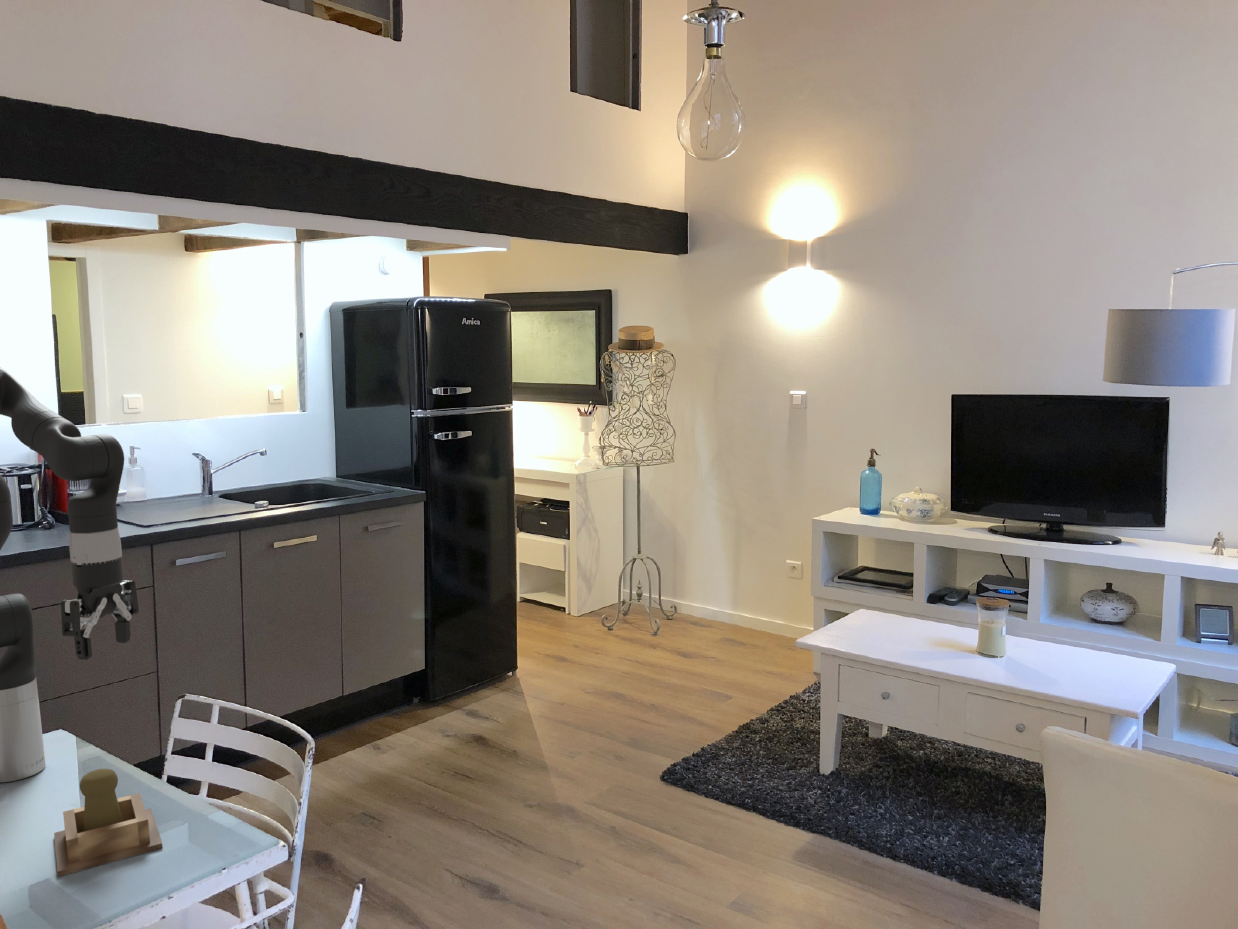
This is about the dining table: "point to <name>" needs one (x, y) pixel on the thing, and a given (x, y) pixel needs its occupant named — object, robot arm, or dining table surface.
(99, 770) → the cork
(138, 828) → the shaker caddy
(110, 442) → the robot arm
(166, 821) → the dining table surface
